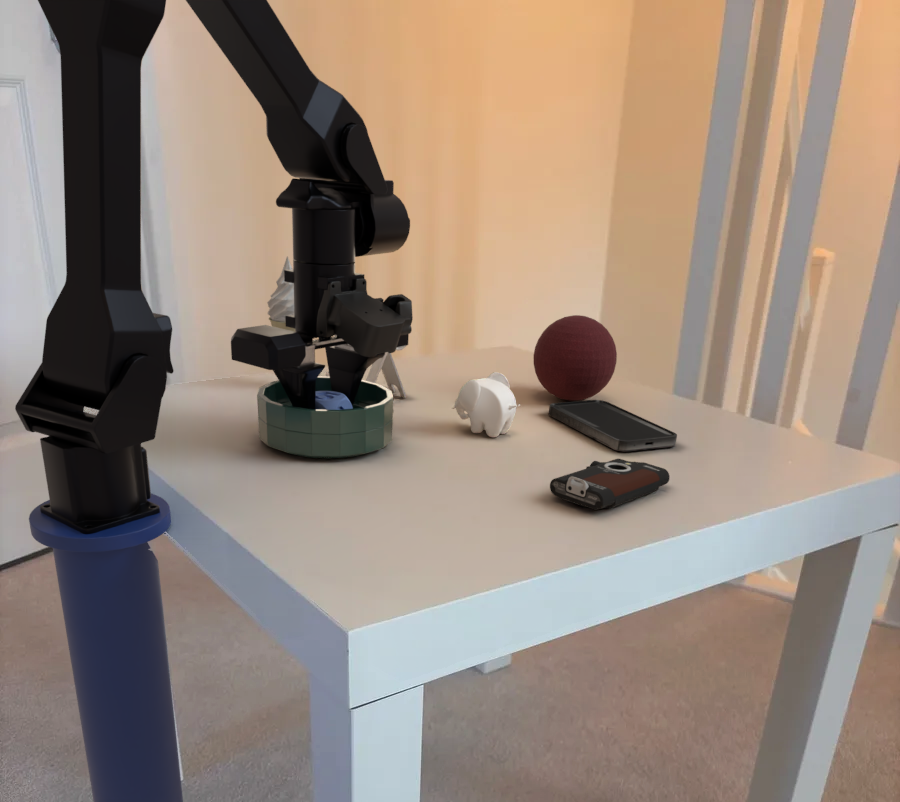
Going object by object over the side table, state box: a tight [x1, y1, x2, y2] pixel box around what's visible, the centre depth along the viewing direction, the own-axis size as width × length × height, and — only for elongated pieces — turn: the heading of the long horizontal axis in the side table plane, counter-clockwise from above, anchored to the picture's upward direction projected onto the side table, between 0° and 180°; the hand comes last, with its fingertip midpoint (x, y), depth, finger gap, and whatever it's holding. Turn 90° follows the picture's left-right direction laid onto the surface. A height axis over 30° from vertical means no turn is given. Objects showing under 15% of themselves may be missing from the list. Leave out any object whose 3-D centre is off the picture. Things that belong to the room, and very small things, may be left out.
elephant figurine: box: [451, 371, 521, 438], centre depth 97 cm, size 7×8×6 cm
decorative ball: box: [533, 314, 618, 402], centre depth 110 cm, size 10×10×10 cm
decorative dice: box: [315, 391, 353, 410], centre depth 91 cm, size 4×4×4 cm
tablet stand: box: [325, 345, 408, 399], centre depth 107 cm, size 9×8×8 cm
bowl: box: [256, 375, 394, 459], centre depth 91 cm, size 13×13×5 cm
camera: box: [549, 458, 671, 511], centre depth 83 cm, size 6×3×11 cm
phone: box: [548, 399, 678, 453], centre depth 101 cm, size 8×1×15 cm
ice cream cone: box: [266, 256, 295, 332], centre depth 107 cm, size 5×5×15 cm
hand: (325, 425), depth 91 cm, fingers closed on decorative dice, 4 cm apart
